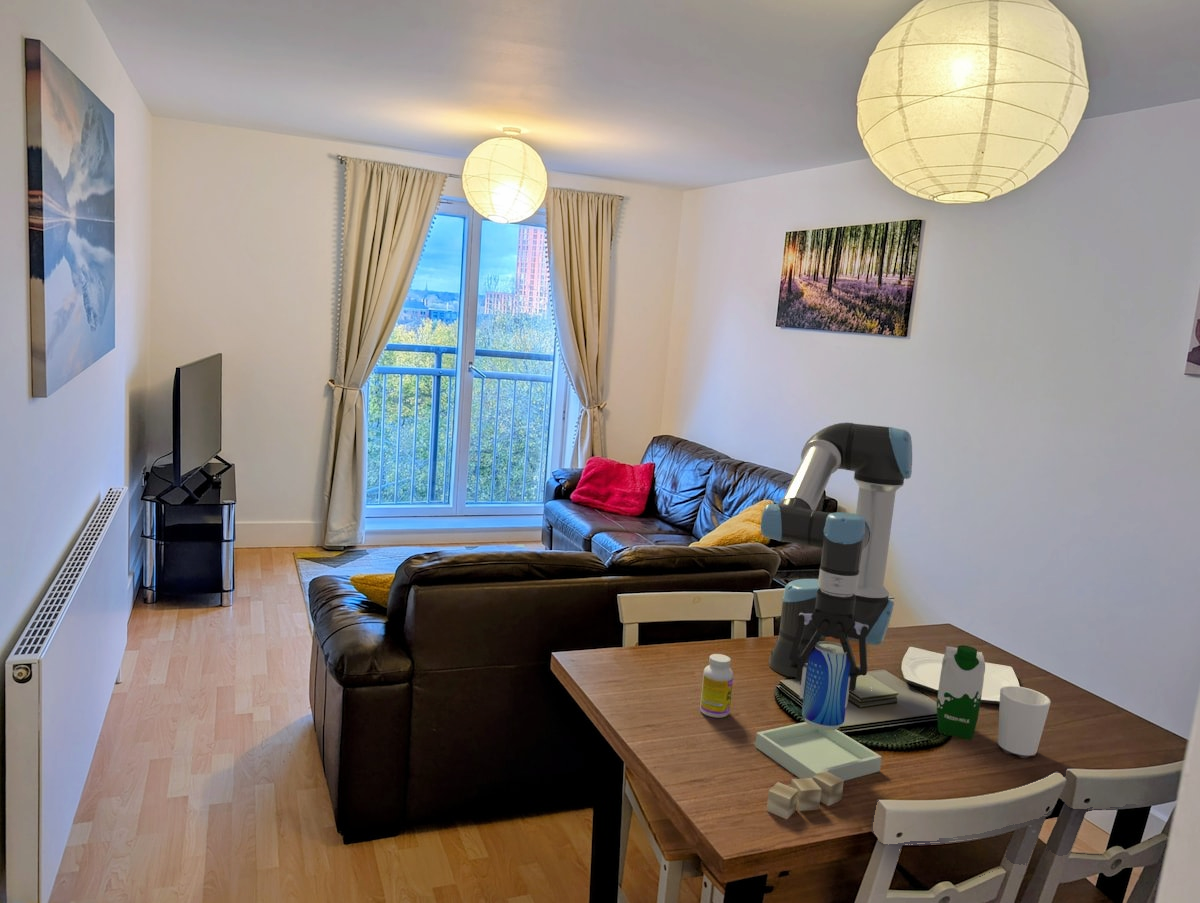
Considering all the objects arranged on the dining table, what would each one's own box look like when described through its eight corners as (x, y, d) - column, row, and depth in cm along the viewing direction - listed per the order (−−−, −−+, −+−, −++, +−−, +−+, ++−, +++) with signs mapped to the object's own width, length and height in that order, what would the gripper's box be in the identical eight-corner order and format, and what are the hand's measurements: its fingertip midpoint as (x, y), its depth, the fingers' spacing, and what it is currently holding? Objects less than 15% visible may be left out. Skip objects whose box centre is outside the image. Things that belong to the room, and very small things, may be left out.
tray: (817, 732, 189) (819, 718, 188) (879, 771, 174) (881, 756, 173) (754, 746, 180) (756, 732, 179) (814, 788, 165) (816, 773, 164)
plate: (897, 689, 216) (898, 679, 216) (903, 653, 243) (904, 643, 242) (1023, 717, 206) (1024, 706, 206) (1015, 675, 232) (1016, 666, 232)
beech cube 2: (808, 797, 162) (811, 777, 161) (819, 809, 158) (821, 789, 157) (789, 799, 161) (791, 779, 160) (799, 811, 157) (801, 790, 156)
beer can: (795, 712, 179) (804, 638, 177) (834, 714, 180) (844, 640, 178) (808, 731, 171) (818, 654, 168) (849, 733, 172) (859, 656, 169)
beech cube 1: (823, 790, 165) (825, 770, 164) (841, 800, 162) (843, 780, 161) (810, 796, 162) (813, 776, 162) (828, 806, 159) (830, 786, 159)
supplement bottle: (728, 721, 191) (734, 665, 189) (698, 716, 192) (703, 661, 190) (730, 708, 197) (735, 654, 195) (701, 703, 198) (706, 650, 197)
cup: (1039, 767, 181) (1048, 709, 179) (988, 752, 186) (997, 696, 184) (1043, 749, 189) (1052, 694, 187) (995, 735, 194) (1003, 681, 192)
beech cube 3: (775, 802, 159) (777, 782, 159) (795, 810, 157) (798, 790, 156) (766, 811, 156) (768, 790, 155) (787, 819, 154) (789, 799, 153)
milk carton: (934, 734, 192) (946, 648, 189) (932, 717, 201) (944, 635, 198) (976, 743, 189) (990, 656, 186) (973, 726, 198) (986, 642, 195)
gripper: (781, 587, 171) (769, 696, 175) (890, 606, 165) (875, 719, 168) (787, 577, 178) (775, 682, 182) (892, 595, 172) (877, 704, 175)
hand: (823, 700), depth 175 cm, fingers closed on beer can, 8 cm apart
